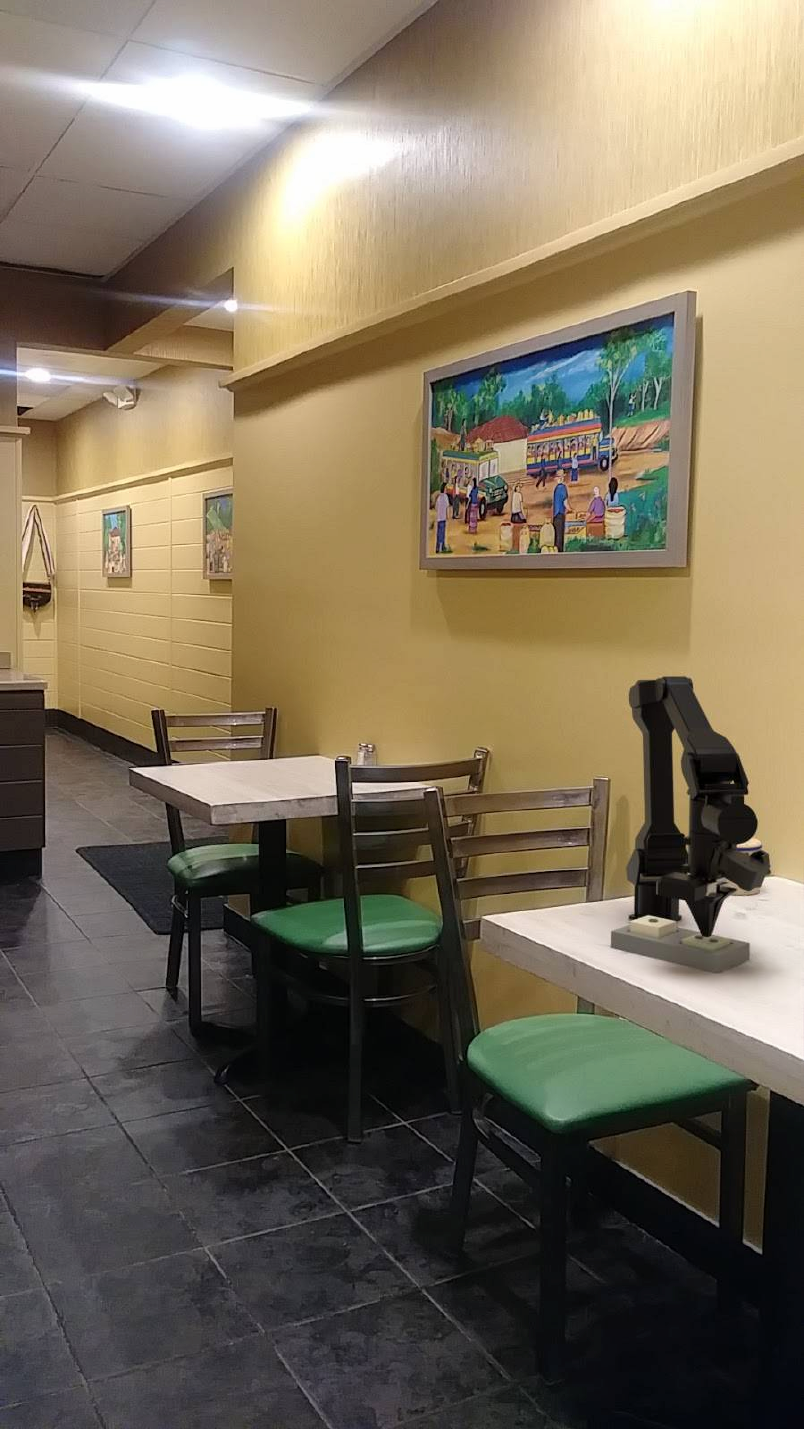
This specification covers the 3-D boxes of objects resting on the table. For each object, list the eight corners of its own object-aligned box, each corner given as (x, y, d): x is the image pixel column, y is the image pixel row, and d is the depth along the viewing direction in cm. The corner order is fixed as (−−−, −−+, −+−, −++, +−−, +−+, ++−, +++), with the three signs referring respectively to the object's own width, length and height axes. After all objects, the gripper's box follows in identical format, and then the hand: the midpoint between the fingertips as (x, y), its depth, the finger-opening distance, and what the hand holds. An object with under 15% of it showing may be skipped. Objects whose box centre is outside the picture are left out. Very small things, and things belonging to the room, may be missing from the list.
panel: (610, 947, 176) (611, 931, 175) (643, 935, 182) (644, 919, 182) (717, 973, 163) (718, 955, 163) (749, 959, 169) (749, 942, 169)
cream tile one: (629, 934, 176) (629, 920, 175) (647, 927, 179) (648, 913, 179) (658, 940, 172) (658, 926, 172) (676, 934, 176) (676, 919, 175)
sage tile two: (681, 952, 169) (682, 938, 169) (699, 945, 173) (700, 931, 173) (712, 960, 166) (712, 944, 166) (730, 952, 169) (730, 937, 169)
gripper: (726, 848, 155) (724, 961, 157) (791, 829, 169) (788, 934, 170) (655, 836, 163) (653, 945, 165) (722, 819, 176) (720, 920, 178)
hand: (706, 936), depth 169 cm, fingers closed
